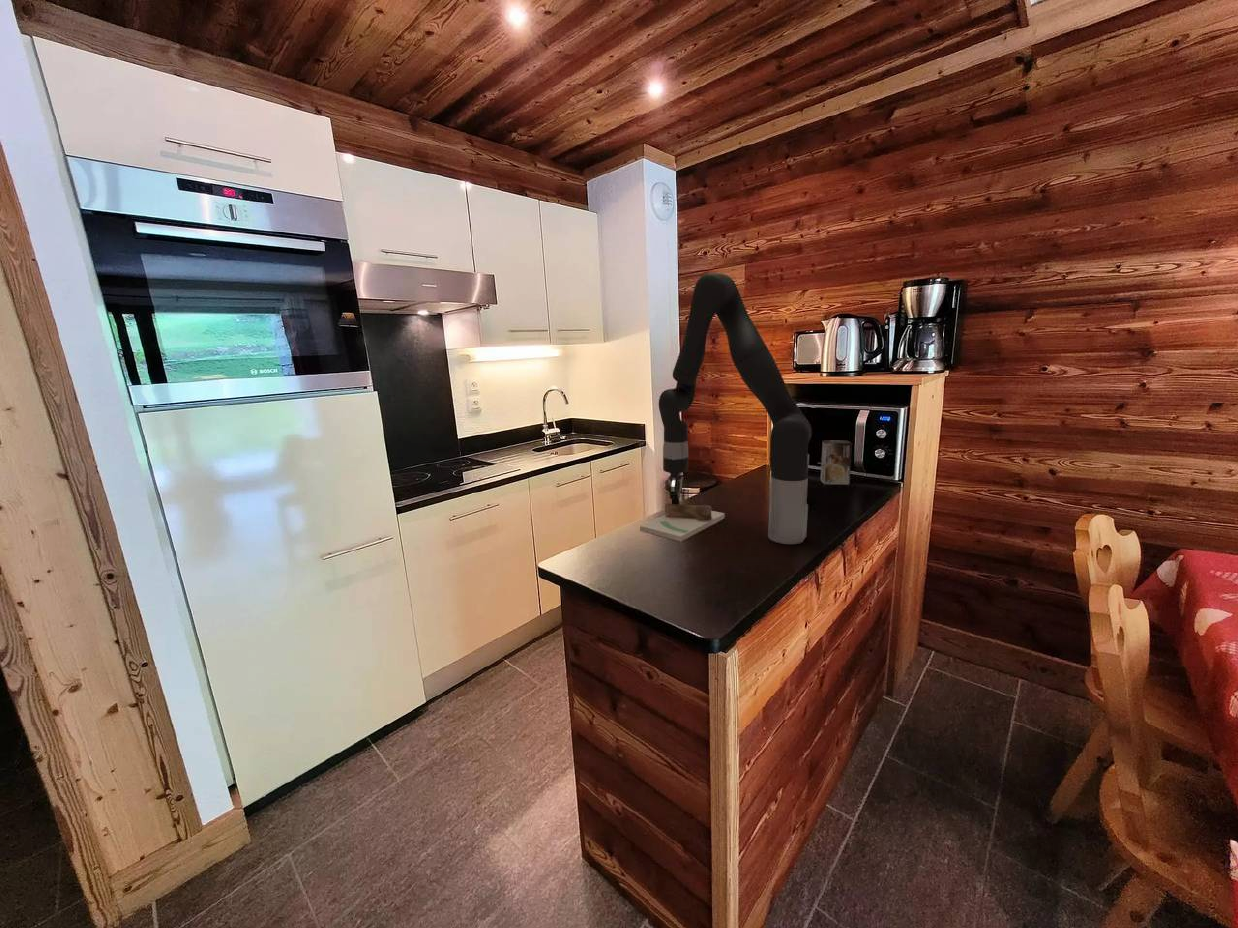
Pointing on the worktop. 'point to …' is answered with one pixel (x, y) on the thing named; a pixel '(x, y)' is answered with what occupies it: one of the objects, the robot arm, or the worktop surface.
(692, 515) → the brown wooden block
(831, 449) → the coffee box
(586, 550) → the worktop surface
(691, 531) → the dial board
